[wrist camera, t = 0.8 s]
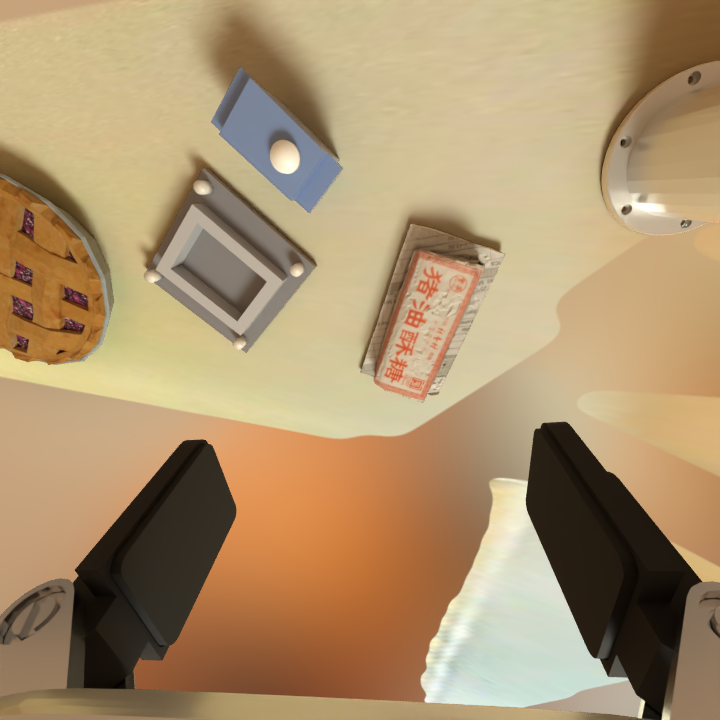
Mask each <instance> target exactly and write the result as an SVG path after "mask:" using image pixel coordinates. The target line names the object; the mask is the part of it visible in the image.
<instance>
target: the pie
mask: <svg viewBox="0 0 720 720" xmlns="http://www.w3.org/2000/svg"><path fill="white" fill-rule="evenodd" d="M113 304H114V298H113V291H112V284H111V276H110V270H109V268H108V265H107V263H106V261H105V259H104V257H103V255H102V252H101V250H100V248H99V246H98V244H97V242H96V240H95V239H94V238H93V237H92V236H91V235H90V234H89V233H88V232H87V231H86V230H85V229H84V228H83V227H82V226H81V225H80V224H79V223H78V222H77V221H76V220H75V219H74V218H73V217H72V216H71V215H70V214H69V213H68V212H66V211H64V210H63V209H61V208H59V207H57V206H56V205H54V204H52V203H51V202H50V201H49V200H47V199H46V198H44V197H42V196H41V195H39V194H37V193H35V192H34V191H32V190H30V189H29V188H27V187H25V186H24V185H22V184H20V183H18V182H17V181H15V180H13V179H12V178H10V177H8V176H6V175H4V174H0V348H4V349H6V350H8V351H10V352H12V353H13V355H14V357H15V358H17V359H20V360H23V361H27V362H30V361H41V362H45V363H48V365H51V364H54V365H57V364H65V363H72V362H79V361H85V360H86V359H87V358H88V357H89V356H90V355H91V354H92V353H93V352H94V351H95V350H96V349H97V348H98V347H100V346H101V345H102V344H103V341H104V337H105V333H106V329H107V327H108V323H109V319H110V315H111V311H112V308H113Z"/></svg>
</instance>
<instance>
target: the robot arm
mask: <svg viewBox="0 0 720 720" xmlns="http://www.w3.org/2000/svg"><path fill="white" fill-rule="evenodd" d="M688 79H689V82H688ZM621 140H622V141H623V143H622V145H620V142H621ZM601 185H602V192H603V198H604V200H605V203H606V206H607V208H608V210H609V211H610V213H611V214H612V216H613V217H614V218H615V219H616V220H617V221H618V222H619V223H620V224H622V225H623V226H624V227H626V228H628V229H631V230H633V231H635V232H639V233H644V234H650V235H659V236H660V235H673V234H678V233H683V232H686V231H689V230H692V229H694V228H697V227H699V226H701V225H704V224H706V223H708V222H716V223H720V61H713V62H709V63H704V64H700V65H697V66H695V67H692V68H689V69H687V70H684V71H682V72H680V73H678V74H676V75H674V76H672V77H670V78H669V79H667V80H665V81H663V82H662V83H661V84H659V85H658V86H656V87H655V88H654V89H652V90H651V91H650V92H648V93H647V94H646V95H645V96H644V97H643V98H642V99H641V100H640V101H639V102H638V103H637V104H636V105H635V106H634V107H633V108H632V109H631V111H630V112H629V113H628V114H627V116H626V117H625V118H624V120H623V121H622V122H621V124H620V126H619V127H618V129H617V131H616V132H615V134H614V136H613V138H612V140H611V142H610V145H609V147H608V150H607V152H606V155H605V160H604V164H603V168H602V181H601ZM622 208H623V211H622V212H621V210H622ZM526 507H527V511H528V514H529V516H530V519H531V521H532V523H533V525H534V528H535V530H536V532H537V535H538V537H539V539H540V541H541V544H542V546H543V548H544V551H545V553H546V555H547V557H548V560H549V562H550V564H551V567H552V569H553V571H554V573H555V576H556V578H557V580H558V583H559V585H560V587H561V589H562V592H563V594H564V596H565V599H566V601H567V603H568V606H569V608H570V610H571V612H572V615H573V617H574V619H575V622H576V624H577V626H578V628H579V631H580V633H581V635H582V638H583V640H584V642H585V644H586V647H587V649H588V651H589V652H590V654H591V655H592V656H593V657H594V658H600V660H601V662H602V664H603V667H604V669H605V671H606V673H607V675H608V677H628V679H629V681H630V683H631V685H632V687H633V689H634V691H635V693H636V695H638V696H639V697H640V698H641V703H640V708H639V713H638V718H635V717H628V716H619V715H612V714H597V713H585V712H571V711H557V710H544V709H531V708H516V707H497V706H479V705H460V704H441V703H422V702H404V701H385V700H362V699H342V698H323V697H301V696H280V695H258V694H257V695H256V694H237V693H236V694H235V693H213V692H212V693H211V692H189V691H163V690H141V689H135V682H134V667H135V665H136V663H137V661H138V659H139V658H141V659H142V660H163V658H164V656H165V654H166V652H167V650H168V648H169V646H170V645H172V644H173V643H174V642H175V641H176V640H177V638H178V637H179V635H180V632H181V630H182V628H183V626H184V624H185V621H186V620H187V618H188V616H189V614H190V612H191V610H192V607H193V605H194V603H195V601H196V599H197V597H198V595H199V593H200V591H201V589H202V587H203V584H204V582H205V580H206V578H207V576H208V574H209V572H210V570H211V568H212V566H213V564H214V561H215V559H216V557H217V555H218V553H219V551H220V549H221V547H222V544H223V542H224V541H225V538H226V536H227V534H228V532H229V530H230V528H231V526H232V524H233V522H234V519H235V517H236V505H235V503H234V500H233V498H232V495H231V492H230V490H229V487H228V485H227V482H226V480H225V477H224V474H223V472H222V469H221V467H220V464H219V461H218V459H217V456H216V453H215V451H214V448H213V446H212V445H210V444H208V443H207V441H206V440H186V441H183V442H182V444H180V445H179V447H178V448H177V449H176V450H175V451H174V453H173V454H172V455H171V456H170V457H169V458H168V460H167V461H166V462H165V463H164V464H163V466H162V467H161V468H160V469H159V470H158V472H157V473H156V474H155V475H154V476H153V477H152V479H151V480H150V481H149V482H148V483H147V485H146V486H145V487H144V488H143V489H142V491H141V492H140V493H139V494H138V496H137V497H136V498H135V499H134V500H133V501H132V502H131V504H130V505H129V506H128V507H127V508H126V510H125V511H124V512H123V513H122V515H121V516H120V517H119V518H118V519H117V520H116V522H115V523H114V524H113V525H112V526H111V527H110V529H109V530H108V531H107V532H106V533H105V535H104V536H103V537H102V538H101V539H100V541H99V542H98V543H97V544H96V545H95V547H94V548H93V549H92V550H91V551H90V552H89V554H88V555H87V556H86V557H85V558H84V560H83V561H82V562H81V563H80V564H79V566H78V567H77V568H76V569H75V571H76V572H77V574H78V575H79V576H78V577H77V579H76V580H75V581H74V582H73V583H72V582H71V581H70V580H68V579H55V580H51V581H48V582H46V583H44V584H41V585H39V586H37V587H35V588H33V589H32V590H30V591H29V592H27V593H25V594H24V595H23V596H21V597H20V598H19V599H18V600H16V601H15V602H14V603H13V604H11V605H10V607H8V608H7V609H6V610H5V611H4V612H3V614H1V616H0V720H720V583H718V582H702V581H701V580H700V578H699V577H698V576H697V575H696V573H695V572H694V571H693V570H692V569H691V567H690V566H689V565H688V564H687V562H686V561H685V560H684V559H683V557H682V556H681V555H680V554H679V553H678V551H677V550H676V549H675V548H674V546H673V545H672V544H671V543H670V541H669V540H668V539H667V538H666V536H665V535H664V534H663V533H662V532H661V530H660V529H659V528H658V527H657V526H656V524H655V523H654V522H653V521H652V519H651V518H650V517H649V516H648V514H647V513H646V512H645V511H644V509H643V508H642V507H641V506H640V504H639V503H638V502H637V501H636V500H635V498H634V497H633V496H632V495H631V493H630V492H629V491H628V490H627V489H626V487H625V486H624V485H623V483H622V482H621V481H620V480H619V479H618V478H617V477H616V476H615V475H614V474H613V473H610V472H607V471H606V470H605V469H604V468H603V466H602V465H601V464H600V462H599V461H598V460H597V459H596V457H595V456H594V455H593V454H592V452H591V451H590V450H589V448H588V447H587V446H586V445H585V443H584V442H583V441H582V440H581V438H580V437H579V436H578V435H577V433H576V432H575V431H574V429H573V428H572V427H571V426H570V425H569V424H568V423H567V422H554V423H553V422H552V423H543V424H542V425H541V428H540V429H535V431H534V437H533V445H532V454H531V462H530V471H529V478H528V486H527V494H526Z"/></svg>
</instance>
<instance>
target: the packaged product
mask: <svg viewBox="0 0 720 720" xmlns="http://www.w3.org/2000/svg"><path fill="white" fill-rule="evenodd" d="M504 256H505V254H504V253H502V252H499V251H497V250H495V249H492V248H490V247H486V246H482V245H478V244H475V243H471V242H468V241H466V240H464V239H461V238H459V237H456V236H453V235H451V234H448V233H445V232H442V231H439V230H436V229H433V228H429V227H424V226H420V225H416V224H411V225H410V228H409V230H408V233H407V236H406V239H405V241H404V244H403V247H402V250H401V252H400V255H399V258H398V260H397V263H396V267H395V270H394V273H393V277H392V280H391V283H390V286H389V289H388V292H387V295H386V299H385V301H384V304H383V306H382V309H381V312H380V315H379V318H378V321H377V324H376V328H375V331H374V333H373V336H372V338H371V341H370V344H369V347H368V351H367V354H366V358H365V361H364V364H363V366H362V369H361V371H360V372H361V373H364V374H367V375H370V376H373V377H374V382H375V384H377V385H378V386H380V387H382V388H383V389H384V390H385V391H389V392H394V393H397V394H401V395H402V396H404V397H407V398H409V399H414V400H417V401H419V402H422V403H423V402H424V401H425V398H426V397H427V394H429V395H437V394H439V391H440V389H441V386H442V384H443V382H444V380H445V378H446V376H447V374H448V372H449V370H450V368H451V366H452V364H453V361H454V359H455V357H456V355H457V353H458V351H459V349H460V347H461V345H462V343H463V341H464V339H465V337H466V335H467V332H468V331H469V329H470V327H471V324H472V322H473V320H474V318H475V316H476V314H477V312H478V309H479V307H480V305H481V303H482V302H483V300H484V298H485V295H486V293H487V291H488V289H489V287H490V285H491V283H492V281H493V279H494V277H495V275H496V273H497V270H498V268H499V266H500V264H501V262H502V260H503V258H504Z"/></svg>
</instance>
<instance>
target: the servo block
mask: <svg viewBox="0 0 720 720" xmlns="http://www.w3.org/2000/svg"><path fill="white" fill-rule="evenodd" d="M211 123H212V124H214V125H215V126H216V127H217V128H218V129H219V130H220V133H219V135H220V136H221V137H222V138H224V139H225V140H226V141H227V142H228V143H229V144H230V145H231V146H232V147H233V148H234V149H235V150H237V151H238V152H239V153H240V154H241V155H242V156H243V157H244V158H245V159H246V160H247V161H248V162H250V163H251V164H252V165H253V166H254V167H255V168H256V169H257V170H258V171H259V172H260V173H261V174H263V175H264V176H265V177H266V178H267V179H268V180H269V181H270V182H271V183H272V184H273V185H274V186H276V187H277V188H278V189H279V190H280V191H281V192H282V193H283V194H284V195H285V196H286V197H287V198H289V199H290V200H291V201H293V200H295V201H296V202H298V203H299V204H300V205H301V206H302V207H303V208H304V209H305V210H306V211H307V212H308V213H311V212H312V210H313V209H314V207H315V206H316V205H317V203H318V202H319V201H320V199H321V198H322V197H323V195H324V194H325V193H326V191H327V190H328V188H329V187H330V186H331V184H332V183H333V182H334V180H335V179H336V178H337V176H338V175H339V174H340V172H341V171H342V169H343V167H342V166H341V165H340V164H339V163H338V161H339V159H338V158H337V157H336V156H335V155H334V154H333V153H332V152H331V151H330V150H329V149H328V148H327V147H326V146H325V145H324V144H323V143H322V142H321V141H320V140H319V139H318V138H317V137H316V136H315V135H314V134H313V133H312V132H311V131H310V130H309V129H308V128H307V127H306V126H305V125H304V124H303V123H302V122H301V121H300V120H299V119H298V118H297V117H296V116H295V115H294V114H293V113H292V112H291V111H290V110H289V109H288V108H287V107H286V106H285V105H284V104H283V103H282V102H281V101H280V100H279V99H277V98H276V97H275V96H273V95H272V94H271V93H269V92H268V91H267V90H265V89H264V88H263V87H262V86H260V85H259V84H258V83H257V82H256V81H255V80H254V79H253V78H252V77H251V76H250V75H249V74H248V73H247V72H246V71H245V70H244V69H243V68H242V67H240V68H239V70H238V72H237V73H236V75H235V77H234V79H233V81H232V83H231V85H230V87H229V89H228V91H227V92H226V94H225V96H224V98H223V100H222V102H221V104H220V106H219V108H218V110H217V111H216V113H215V115H214V117H213V119H212V121H211Z"/></svg>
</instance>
